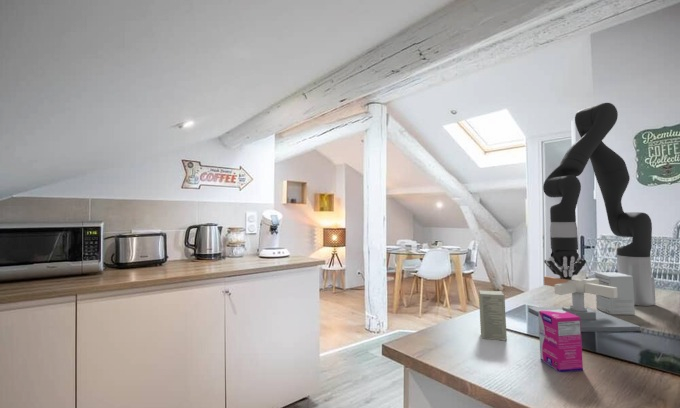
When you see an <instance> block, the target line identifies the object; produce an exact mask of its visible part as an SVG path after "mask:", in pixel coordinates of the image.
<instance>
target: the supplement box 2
mask: <svg viewBox="0 0 680 408" xmlns="http://www.w3.org/2000/svg"><path fill="white" fill-rule="evenodd" d="M594 278H595V279H599V285H605V286H611V287H617V295H618V297H617V298H611V297H606V296H600V295H595V297H596V298H595V300H596V301H595V302H596V304H595V305H596V309H598V310H599V311H601V312H603V313H606V314H607V313H608V315H611V316H613V315H635V314H636V312H635V311H636V310H635V305H634V289H633V276H630V275H626V274H621V273H618V272H615V271H614V272H612V271H611V272H594Z"/></svg>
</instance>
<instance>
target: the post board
mask: <svg viewBox="0 0 680 408" xmlns="http://www.w3.org/2000/svg"><path fill="white" fill-rule="evenodd" d="M571 298H572V299H571V302H572V303H571V304H572V305H570V306H542V307H541V306H539V307H538V306H535V307H534V306H533V307H527V308H528V312H530V313H532V314H534V315H536V316H537V317H539V314H538V311H544V310H558V309H561V310H563V311H566V312H568V313H571V314H573V315H576V316H578V317H580V322H581V333H582V332H583V333H585V332H594V333H595V332H640V331H641V330H642V329H641V328H642V327H641V326H640V325H637V324H634V323H633V322H629V321H627V320H624V319H621V318H618V317H616V316H613V315H612V314H609V313H608V314H607V313H606V312H604V311H601V310H596V309H595V308H591V307H589V306H585V293H578V292H574V293H571Z"/></svg>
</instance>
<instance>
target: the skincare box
mask: <svg viewBox="0 0 680 408" xmlns="http://www.w3.org/2000/svg"><path fill="white" fill-rule="evenodd" d="M505 298H506V297H505V294H504V292H503V291H502V290H481V289H480V290H478V299H479V301H478V302H479V304H478V305H479V320H480V321H479V322H480V323H479V324H480V335H481V338H482V339H487V340H496V341H497V340H498V341H507V340H508V339H507V338H508V337H507V321H506V319H507V318H506V317H507V316H506V299H505Z"/></svg>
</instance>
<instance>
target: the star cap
mask: <svg viewBox="0 0 680 408" xmlns="http://www.w3.org/2000/svg"><path fill="white" fill-rule="evenodd" d="M543 285H544V286H548V287H554V294H555V295H560V296H563V295H567V294H572V293H574V292H578V293H584V294H590V295H595V296H596V295H600V296H606V297H611V298H617V297H618V295H617V287H611V286H605V285H599V279H595V277H591V278H584V279H572V280H568V279H562V278H560V277H555V276H549V275H546V276H543Z"/></svg>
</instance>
